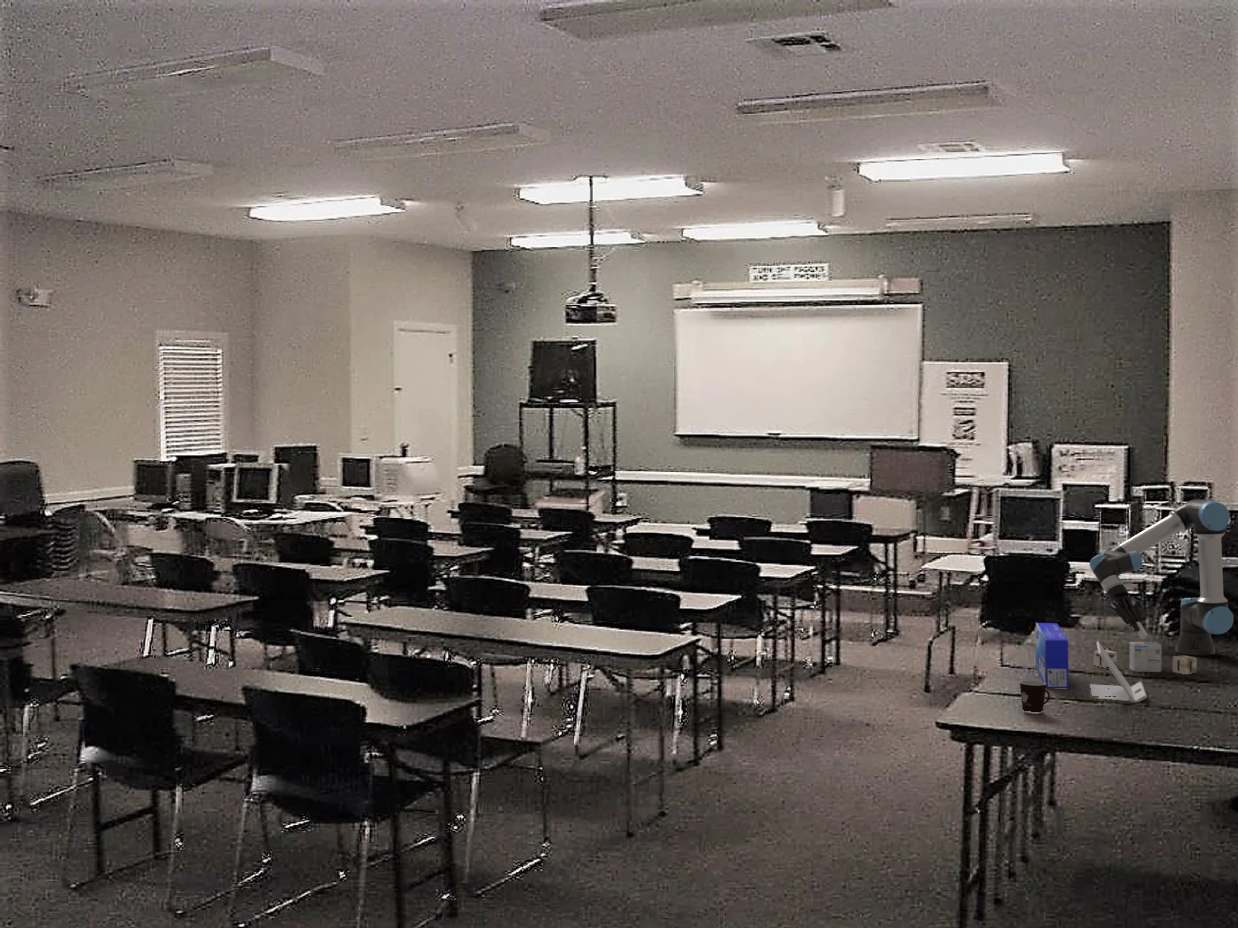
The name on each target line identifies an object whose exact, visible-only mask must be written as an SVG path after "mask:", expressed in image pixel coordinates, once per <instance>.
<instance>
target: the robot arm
mask: <svg viewBox="0 0 1238 928" xmlns="http://www.w3.org/2000/svg"><path fill="white" fill-rule="evenodd" d="M1230 519H1231V515H1230V511H1229V510H1228V508H1227V507H1226V505H1224V504H1223V503H1221V502H1218V501H1216V500H1210V499H1209V500H1208V499H1202V498H1196V499H1191V500H1189V501H1187V502H1184V503H1183V504H1181V505H1179V506H1178V507H1176V508H1175V509H1172V510H1171V511H1169V513H1168V515H1167V516H1166V517H1164V518H1163V519H1160V520H1159V521H1157V522H1155V523H1154V524H1152V525H1150V526H1149V527H1147V528H1146V529H1144V530H1142V531H1141V532H1138V533H1137V534H1135V535H1134V536H1131V538H1128V539H1127V540H1125V541H1123V542H1122V543H1121V544H1119V545H1116V546H1115V547H1112V548H1111V549H1110V548H1108V549H1104V550H1103V551H1101V553H1100V554H1098V555H1095V556H1094V557H1092V558H1091V559H1090V561H1089V567H1090V569H1091V571H1092V573H1093V574H1094V576H1095V578H1096V579H1097V581H1098V583H1099V584H1100V585H1101V587H1102V589H1103V590H1104V592H1105V593H1106V596H1107V597H1108V599H1109V601H1111V604H1110V605H1109V607H1110V608H1111V609H1112V610H1114V612H1115V613H1116V614H1117V615H1118V617H1120V618H1121V620H1122V621H1123V622H1124V624H1126V625H1128V626H1129V627H1130V628H1133V630H1134V631H1135V632H1136V633H1137V635H1138V636H1139V638H1140V640H1145V639H1146V638H1147V637H1148V636H1149V633H1147V631H1146V629H1145V626H1144V625H1143V621H1144V620H1145V619H1144V616H1143V613H1142V611H1141V608H1140V606H1139V601H1138V600H1135V601H1134V600H1132V598H1131V597H1130V595H1129V591H1128V589H1127V588H1126V586H1125V585H1124V583H1123V581H1122V580H1121V578H1120V577H1119V575H1124V574H1128V573H1131V572H1133V571H1136V570H1139V569H1141V568H1143V558H1142V556H1141V554H1143V553H1144V552H1146V551H1148V550H1150V549H1151V548H1153V547H1154V546H1156V545H1158V544H1160V543H1162V542H1163V541H1165V540H1167V539H1168V538H1170V537H1172V536H1173V535H1175V534H1176V533H1178V532H1181V533H1183V532H1185V531H1187V530H1189V529H1192V528H1193V534H1194V535H1195V536H1196V537H1197V541H1198V562H1199V563H1198V566H1199V568H1198V569H1199V587H1200V588H1199V590H1200V591H1199V593H1200V596H1199V597H1184V598H1182V599H1181V602H1180V634H1179V637H1178V639H1177V643H1176V644H1175V652H1176V653H1179V654H1182V655H1188V656H1189V655H1190V656H1212V655H1213V656H1214V655H1215V654H1216V648H1215V646H1214V642H1213V638H1212V635H1223V634H1225V633H1227V632H1228V631H1229V630H1230V629H1231V628H1232V626H1233V624H1234V613H1233V612H1232V611H1231V610H1230V608H1229V602H1228V601H1229V600H1228V599H1227V598H1226V597H1225V595H1224V580H1223V578H1224V577H1223V574H1224V573H1223V552H1222V548H1223V547H1222V546H1223V545H1222V537H1224V535H1225V534H1226V528H1227V526H1228V525H1229V523H1230Z"/></svg>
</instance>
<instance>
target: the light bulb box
mask: <svg viewBox="0 0 1238 928" xmlns="http://www.w3.org/2000/svg"><path fill="white" fill-rule="evenodd" d="M1129 669H1130V670H1131V671H1132V670H1133V671H1132V672H1134V671H1135V672H1136V673H1139V672H1143V673H1146V672H1147V673H1148V672H1149V673H1161V672H1162V644H1161V643H1158V642H1157V641H1154V642H1153V641H1129Z"/></svg>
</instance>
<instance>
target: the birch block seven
mask: <svg viewBox="0 0 1238 928" xmlns="http://www.w3.org/2000/svg"><path fill="white" fill-rule="evenodd" d="M1104 650H1105V651H1106V653H1107V654H1108V655H1109V657H1110V658H1111V660H1112V661H1113V663H1114V664H1115V665H1116V666H1117V651H1112V650H1108V649H1104ZM1094 665H1096V666H1095V667H1097V666H1099V667H1098V668H1101V667H1104V668H1103V669H1107V668H1106V667H1108V666H1107V665H1106V663H1105V662H1104V660H1103V659H1102V657H1101V656H1100V655H1099V652H1098V650H1093V666H1094Z"/></svg>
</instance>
